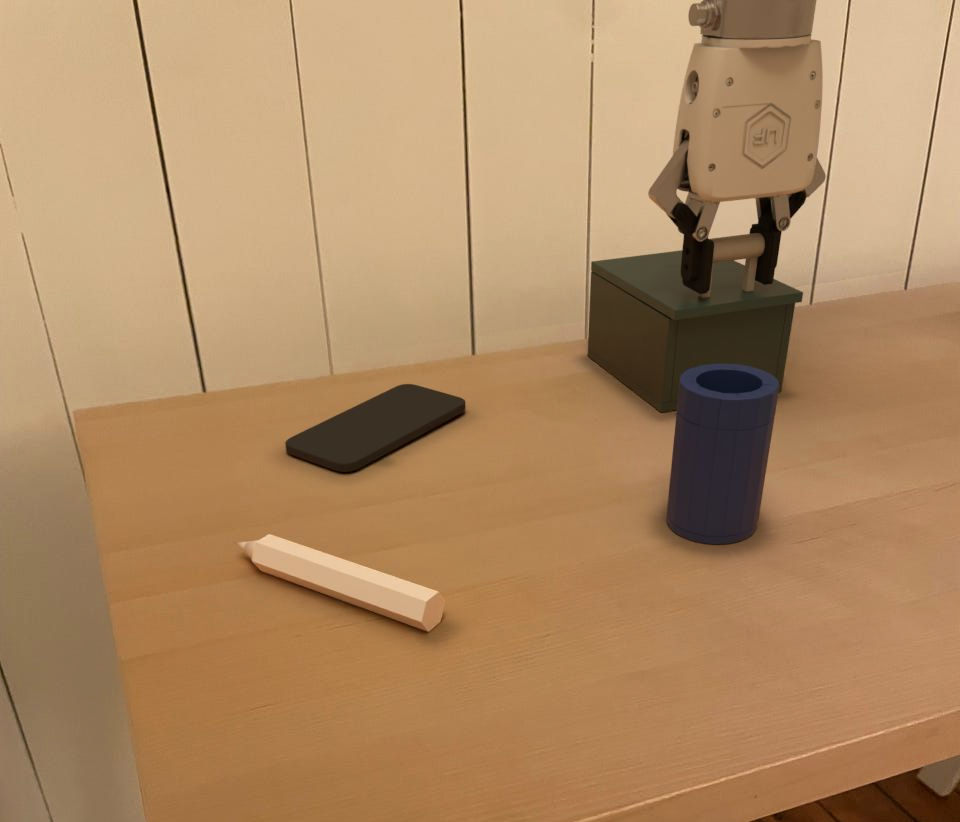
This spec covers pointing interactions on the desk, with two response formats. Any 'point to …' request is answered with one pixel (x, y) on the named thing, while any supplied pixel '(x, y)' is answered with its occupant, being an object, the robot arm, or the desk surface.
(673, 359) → the chest
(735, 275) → the lid
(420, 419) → the phone
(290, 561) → the wooden pencil
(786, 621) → the desk surface
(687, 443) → the jar
